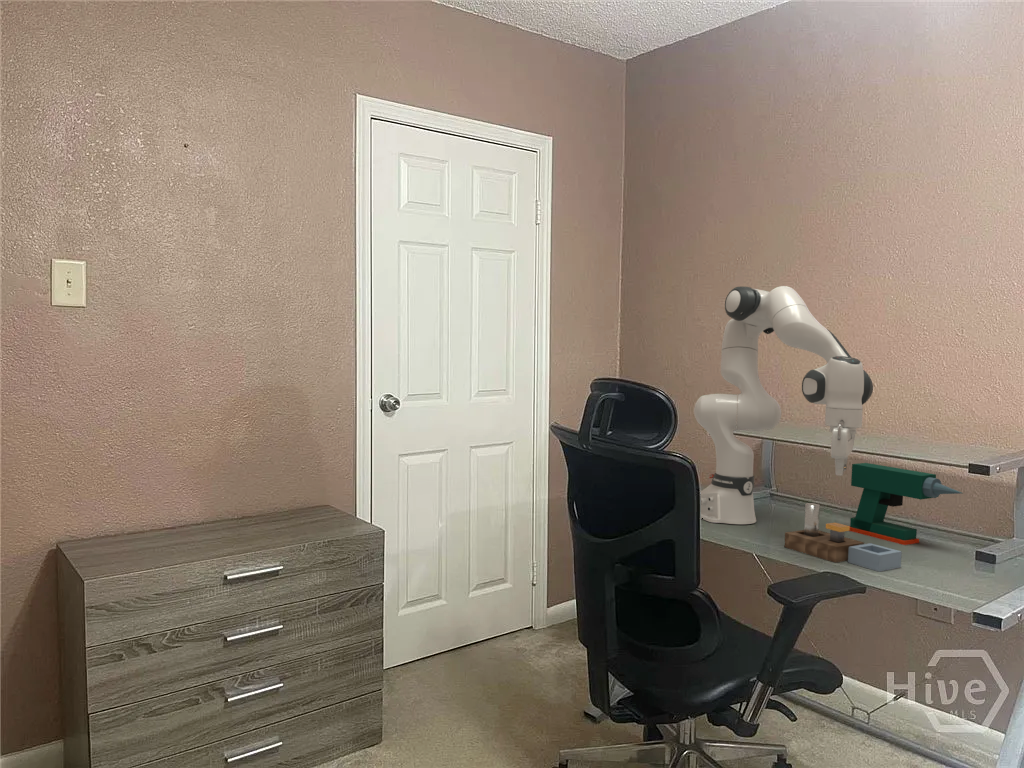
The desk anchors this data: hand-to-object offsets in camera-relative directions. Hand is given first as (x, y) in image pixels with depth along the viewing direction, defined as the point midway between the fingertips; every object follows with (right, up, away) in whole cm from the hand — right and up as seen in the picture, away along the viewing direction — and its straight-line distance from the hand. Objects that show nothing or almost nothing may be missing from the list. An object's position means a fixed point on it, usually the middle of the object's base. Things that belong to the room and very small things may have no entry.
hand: (840, 473), depth 199 cm
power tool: (+26, -22, +19) cm, 39 cm away
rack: (+6, -22, -6) cm, 24 cm away
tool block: (-3, -22, +5) cm, 22 cm away
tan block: (-1, -19, +1) cm, 19 cm away
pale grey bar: (-5, -21, +8) cm, 23 cm away
